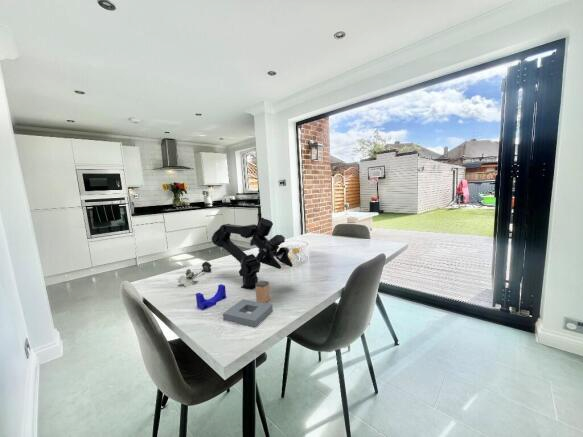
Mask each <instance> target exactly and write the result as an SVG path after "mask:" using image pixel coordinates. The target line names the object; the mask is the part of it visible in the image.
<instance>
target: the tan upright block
mask: <svg viewBox="0 0 583 437" xmlns="http://www.w3.org/2000/svg"><path fill="white" fill-rule="evenodd" d="M255 286H256V287H255V298H256V299H255V300H256V302H261V303H266V304H267V302H268V301H269V300H270V297H271V296H270V284H269V281H268V280H267V281H266V280H258V282H257V283H256V284H255Z"/></svg>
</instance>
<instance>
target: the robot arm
mask: <svg viewBox="0 0 583 437" xmlns="http://www.w3.org/2000/svg"><path fill="white" fill-rule="evenodd" d="M273 225H274V223H273V221H271V220H270V219H268V218H264V217H259V218H258V222H257V224H255V223H253V224H248V225H240V224H231V223H227V224H225V223H224V224H222V225H220V226H219V228H218V229H217V230H215V231H214V233H213V235H212V236H211V242H212V243H213V245H215V246H216V247H219V248H223V249H225V250H226V251H227V253H229V254H230V255H231V256H232V257H234V259H235V260H236V261H237V262H239V263H240V264H239V265H240V269H239V271H238V275H239V276H240V277H242V285H241V288H242V289H247V290H248V289H249V290H253V289H256V286H255V284H256V283H257V282H259V276H258V273H260V269H261V264H263V265H267V266H270V267H273V268H276V269H278V270H281V269H282V265H281V264H280V263H282V264H284V265H286V266H288V267H291V268H292V267H293V265H294V264H293V263H292V260H291V259H290V257H289V253H290V248H288V247H285V246H284V247H280V245H281V244H284V243H285V242H286V238H285V236H283V235H282V234H276V235H274V236H273V237H272V238H270V239H269V238H267V237H268V236H269V234H270V232H271V230H272V229H273V228H272V227H273ZM232 234H236V235H238V236H239V235H240V237H242V238H244V239H250V238H251V239H250V243H249V245H250V246H251V247H253V246H256V248H258V249H257V250H258V253H257V254H256V255H255V254H253V253H251V254H247V253H246V252H244V251H243V250H242V249H241V248H240V247H239V246H237V245H236V244H235V243H234V242H233V241H232V240H231V235H232Z"/></svg>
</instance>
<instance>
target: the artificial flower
mask: <svg viewBox="0 0 583 437" xmlns="http://www.w3.org/2000/svg"><path fill="white" fill-rule="evenodd" d="M201 267H202V270H201V271H200V272H195V273H194V272H193V271H192V270H191V269H190V268H189V269H188V268H187V269H186V271H185V275H180V276H179V277H178V278H177V282H178V284H179V285H183V286H184V287H185V288H189V287H192V286H193V285H194V284H195V281H194V279H195V278H197V276H199V275H200V274H201V273H203V272H204V273H211V272H212V264H211V263H210V262H209V261H204V262H202V264H201Z"/></svg>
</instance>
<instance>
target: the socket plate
mask: <svg viewBox="0 0 583 437" xmlns="http://www.w3.org/2000/svg"><path fill="white" fill-rule="evenodd" d="M273 308H274V307H273V304H271V303H267V302H266V303H261V302H257V301H255V300H250V299H244V298H243V299H241V300H239V301H237V303H235V304H234V305H232V306H231V307H230V308H229V309H227V310H226V311H224V312H223V313H222V317H223V321H226V320H227V322H230V321H232V322H231V323H234V322H236V324H239V323H240V324H239V325H243V324H244V325H243V326H247V325H248V326H247V327H251V326H253V327H252V328H255V327H256V326H257V325H258V324H259V323H260V322H261V321H262V322H263V321H264V320H265V319H266V318H267V317H268V316H270V314H271V313H273ZM247 310H248V311H247ZM252 311H253V312H252ZM244 312H245V313H244ZM248 312H251V313H248ZM262 322H261V323H262ZM261 323H260V324H261ZM260 324H259V325H260ZM259 325H258V326H259ZM258 326H257V327H258ZM257 327H256V328H257Z"/></svg>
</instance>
